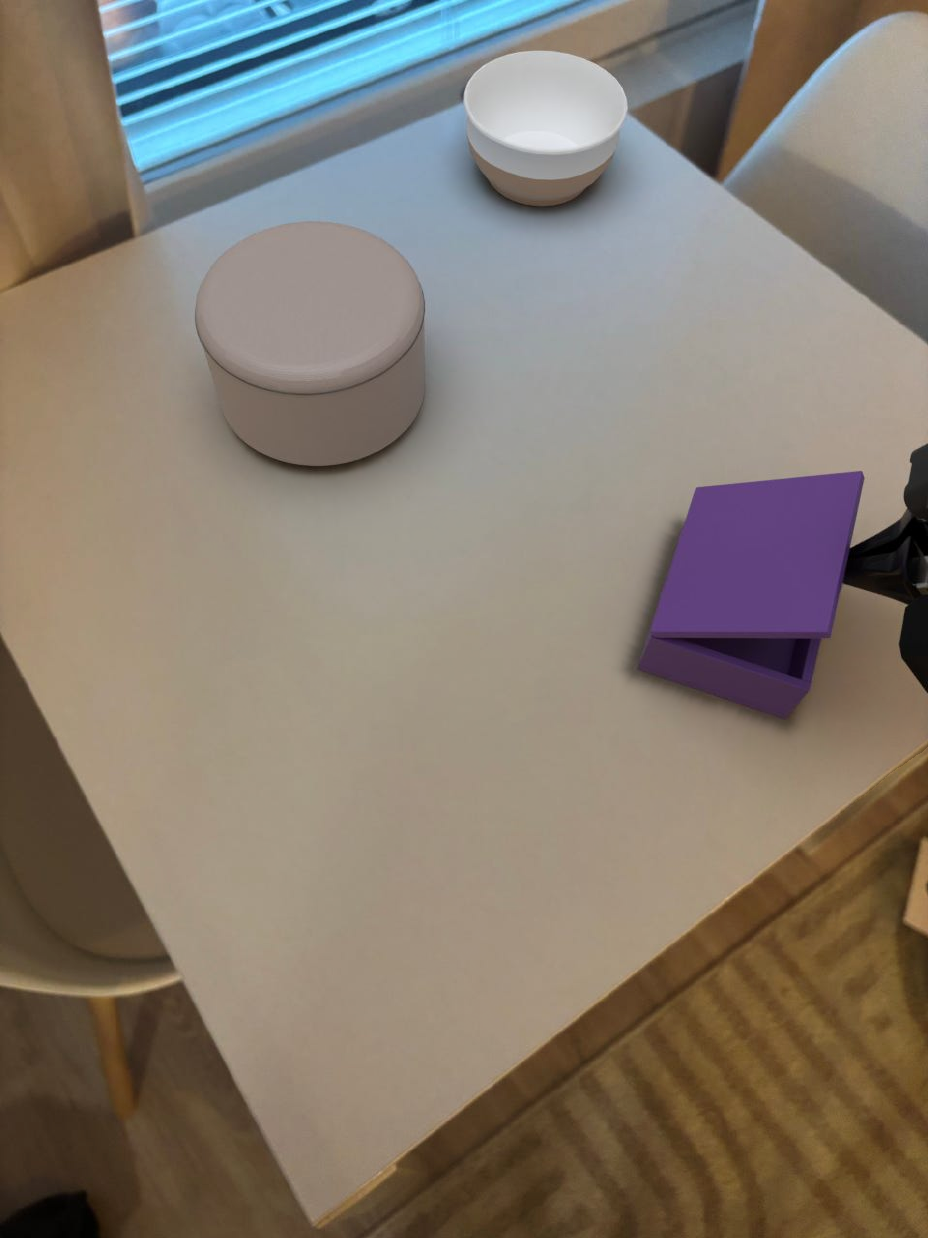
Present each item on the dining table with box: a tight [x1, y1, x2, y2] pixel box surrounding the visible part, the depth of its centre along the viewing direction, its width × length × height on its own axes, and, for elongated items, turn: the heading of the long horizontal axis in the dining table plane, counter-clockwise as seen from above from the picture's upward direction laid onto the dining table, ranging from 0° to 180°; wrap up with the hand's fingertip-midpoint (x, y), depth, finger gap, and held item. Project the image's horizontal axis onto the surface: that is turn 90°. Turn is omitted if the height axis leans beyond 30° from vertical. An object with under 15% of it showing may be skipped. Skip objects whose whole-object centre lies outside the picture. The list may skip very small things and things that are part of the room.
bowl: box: [462, 50, 629, 207], centre depth 95 cm, size 16×16×8 cm
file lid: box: [650, 470, 865, 640], centre depth 66 cm, size 12×13×1 cm
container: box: [194, 220, 426, 467], centre depth 78 cm, size 18×18×12 cm
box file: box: [636, 519, 822, 720], centre depth 71 cm, size 11×13×5 cm
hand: (825, 570), depth 64 cm, fingers closed
